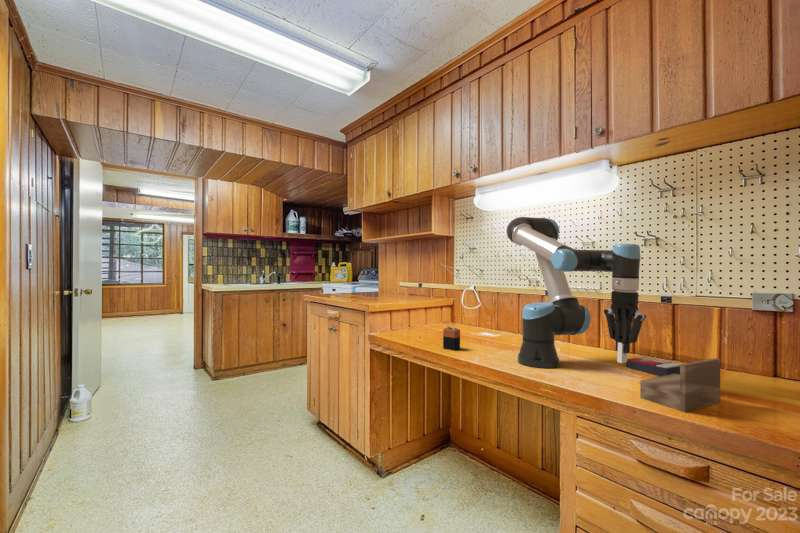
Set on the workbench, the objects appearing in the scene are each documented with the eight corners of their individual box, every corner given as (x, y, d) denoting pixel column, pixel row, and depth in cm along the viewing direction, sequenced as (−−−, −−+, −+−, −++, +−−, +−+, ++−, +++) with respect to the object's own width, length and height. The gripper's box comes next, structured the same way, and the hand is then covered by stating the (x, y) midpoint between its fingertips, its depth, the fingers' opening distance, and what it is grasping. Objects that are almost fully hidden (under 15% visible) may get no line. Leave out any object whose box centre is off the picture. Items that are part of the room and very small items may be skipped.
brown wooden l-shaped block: (640, 397, 102) (640, 355, 102) (675, 389, 109) (675, 350, 109) (685, 412, 92) (685, 365, 92) (720, 402, 99) (720, 359, 99)
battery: (448, 347, 166) (448, 325, 166) (460, 349, 162) (460, 327, 162) (442, 348, 163) (442, 326, 163) (455, 350, 158) (455, 328, 158)
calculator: (643, 355, 138) (687, 363, 125) (644, 366, 138) (687, 375, 124) (624, 358, 134) (667, 366, 120) (625, 369, 134) (668, 379, 120)
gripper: (598, 289, 121) (596, 357, 122) (637, 293, 109) (634, 369, 110) (613, 288, 124) (610, 355, 125) (652, 292, 112) (649, 366, 113)
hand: (621, 362), depth 117 cm, fingers closed
